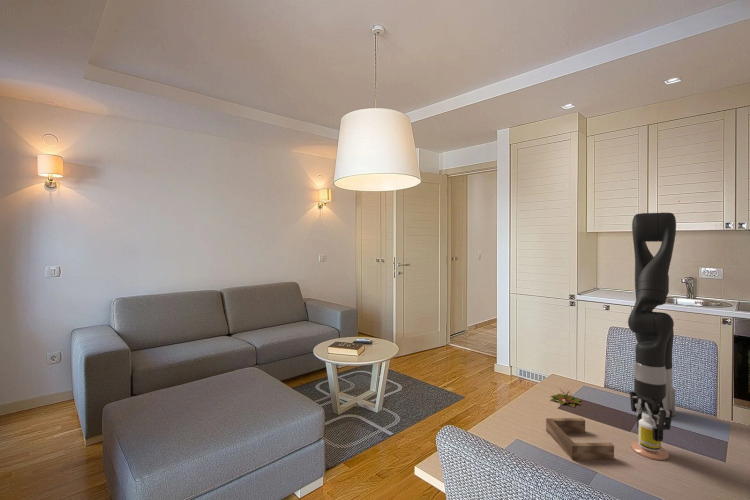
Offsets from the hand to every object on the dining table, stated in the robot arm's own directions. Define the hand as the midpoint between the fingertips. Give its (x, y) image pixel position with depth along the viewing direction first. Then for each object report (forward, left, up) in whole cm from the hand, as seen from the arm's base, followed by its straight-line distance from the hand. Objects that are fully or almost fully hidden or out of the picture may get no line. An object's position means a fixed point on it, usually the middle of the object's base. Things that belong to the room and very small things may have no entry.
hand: (649, 434), depth 107 cm
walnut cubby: (+19, -4, -5) cm, 20 cm away
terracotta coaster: (0, 0, -5) cm, 5 cm away
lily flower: (+7, -34, -6) cm, 35 cm away
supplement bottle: (0, 0, -4) cm, 4 cm away
